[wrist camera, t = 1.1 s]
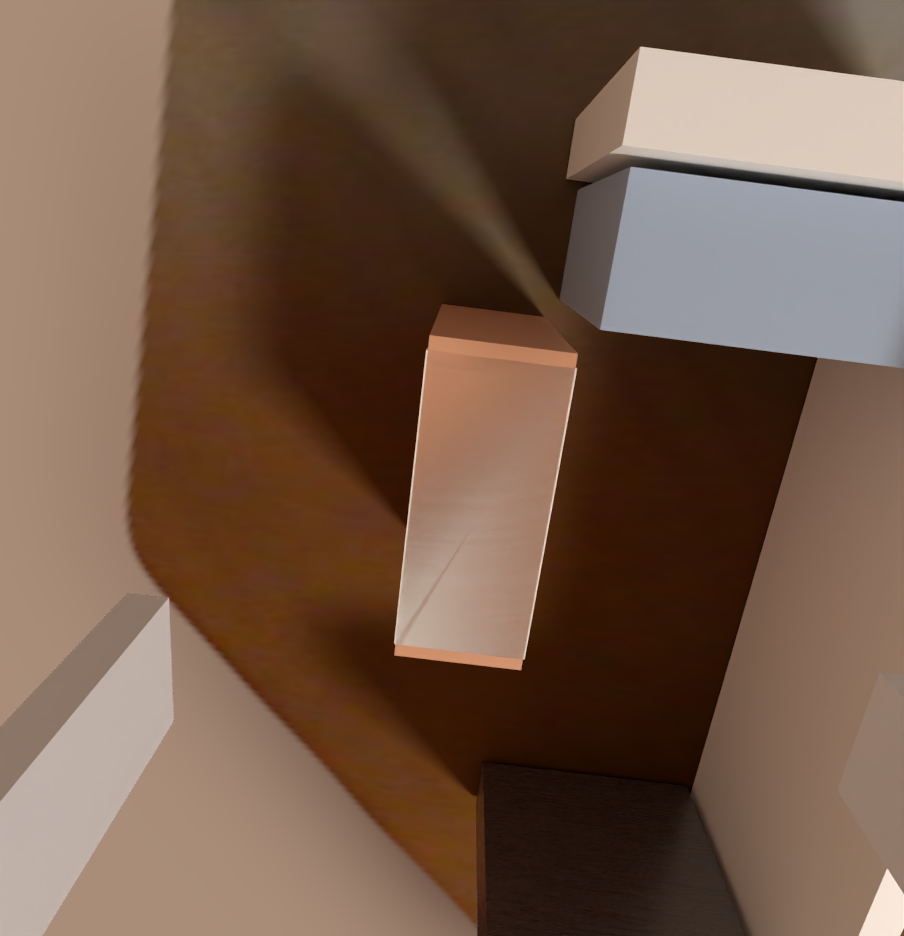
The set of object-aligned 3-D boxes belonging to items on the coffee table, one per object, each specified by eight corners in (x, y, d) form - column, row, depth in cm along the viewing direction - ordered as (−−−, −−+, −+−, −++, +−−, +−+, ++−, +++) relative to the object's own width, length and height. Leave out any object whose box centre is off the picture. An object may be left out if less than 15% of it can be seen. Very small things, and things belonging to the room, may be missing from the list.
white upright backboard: (575, 119, 25) (664, 20, 13) (908, 162, 25) (1277, 100, 14) (463, 817, 35) (459, 1097, 24) (699, 844, 35) (809, 1136, 24)
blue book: (577, 189, 26) (630, 166, 17) (844, 224, 26) (1029, 218, 17) (559, 300, 27) (599, 329, 18) (813, 332, 27) (971, 377, 18)
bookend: (482, 762, 34) (487, 969, 24) (686, 786, 34) (770, 1001, 24) (476, 802, 34) (478, 1018, 25) (675, 826, 34) (752, 1049, 25)
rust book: (414, 536, 30) (392, 655, 22) (440, 303, 27) (427, 334, 18) (507, 548, 30) (522, 670, 22) (544, 316, 27) (579, 354, 19)
